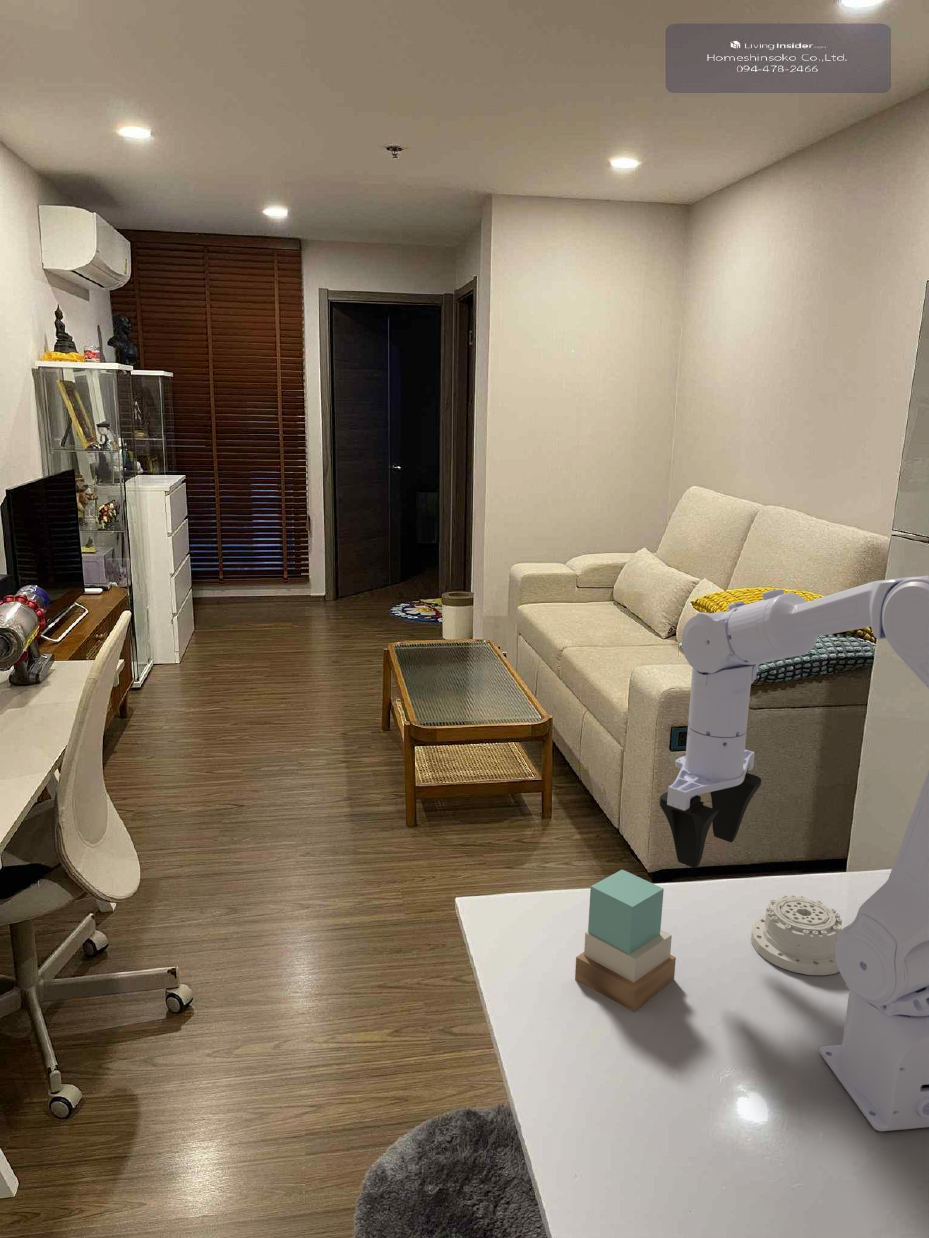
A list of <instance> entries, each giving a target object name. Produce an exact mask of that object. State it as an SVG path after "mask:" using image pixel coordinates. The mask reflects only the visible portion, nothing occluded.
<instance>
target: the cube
mask: <svg viewBox="0 0 929 1238" xmlns="http://www.w3.org/2000/svg"><path fill="white" fill-rule="evenodd" d="M664 889H665V888H664V887H661V886H659V885H657V884H655V883H652V882H650V881H648V880H646V879H643V878H641V877H639V876H637V875H635V874H633V873H631V872H629V871H626V870H624V869H620V870H619V871H617V872H615V873H613V874H611V875H609V876H608V877H605V878H603V879H602V880H600V881H598V882H596V883H594V884H593V885H590V891H589V892H590V893H589V894H590V895H589V909H588V925H587V927H588V928H587V932H588V933H590V934H592V935H594V936H596V937H598V938H600V939H601V940H603V941H605V942H607V943H609V944H611V945H613V946H615V947H616V948H618V949H620V950H622V951H624V952H626V953H628V954H631V953H632V952H634V951H635V950H637V949H638V948H640V947H642V946H643V945H645V944H646V943H648V942H649V941H651V940H653V939H654V938H656V937H657V936H659V935H660V929H661V926H662V916H663V915H662V914H663V901H664ZM661 930H662V929H661Z"/></svg>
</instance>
